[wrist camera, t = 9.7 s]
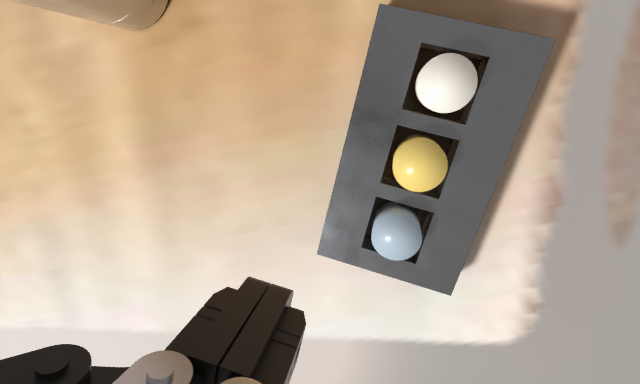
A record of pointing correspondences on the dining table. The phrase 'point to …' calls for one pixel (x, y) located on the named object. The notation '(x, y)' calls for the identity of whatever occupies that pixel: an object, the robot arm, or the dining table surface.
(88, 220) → the dining table surface
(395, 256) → the button blue
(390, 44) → the panel
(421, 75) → the button ivory
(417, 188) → the button mustard
